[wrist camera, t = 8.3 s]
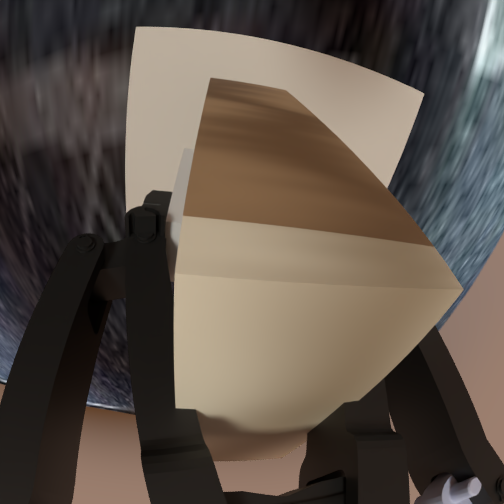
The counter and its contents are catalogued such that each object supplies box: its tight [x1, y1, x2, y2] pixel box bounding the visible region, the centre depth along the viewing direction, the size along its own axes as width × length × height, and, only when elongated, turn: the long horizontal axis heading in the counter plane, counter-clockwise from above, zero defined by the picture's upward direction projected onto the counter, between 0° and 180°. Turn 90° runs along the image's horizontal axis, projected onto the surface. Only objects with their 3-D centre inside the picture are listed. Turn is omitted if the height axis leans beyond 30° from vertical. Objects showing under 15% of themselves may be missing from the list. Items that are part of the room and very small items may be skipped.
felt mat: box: [125, 27, 424, 213], centre depth 20 cm, size 20×15×1 cm
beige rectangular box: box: [174, 78, 463, 461], centre depth 12 cm, size 4×10×14 cm, turn 168°
